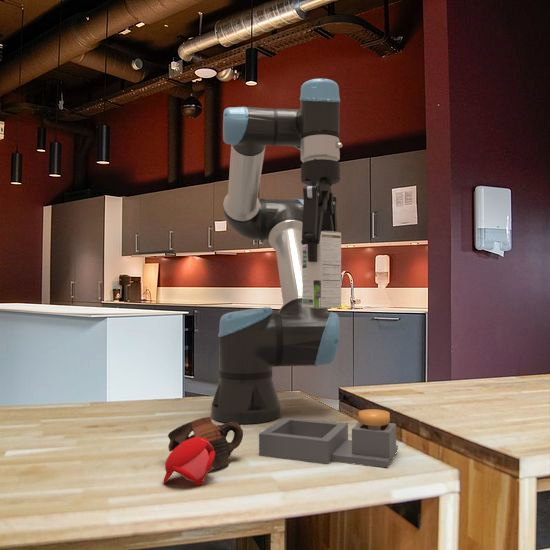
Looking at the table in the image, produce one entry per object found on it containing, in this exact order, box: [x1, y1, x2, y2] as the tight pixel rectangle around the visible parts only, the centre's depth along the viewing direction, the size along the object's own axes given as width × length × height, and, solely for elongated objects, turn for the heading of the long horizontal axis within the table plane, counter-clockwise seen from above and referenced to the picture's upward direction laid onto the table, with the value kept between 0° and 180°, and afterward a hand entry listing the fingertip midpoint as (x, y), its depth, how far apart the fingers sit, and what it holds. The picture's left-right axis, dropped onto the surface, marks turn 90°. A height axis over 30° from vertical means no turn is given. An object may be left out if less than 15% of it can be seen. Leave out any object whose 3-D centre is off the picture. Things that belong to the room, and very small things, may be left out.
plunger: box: [358, 408, 391, 430], centre depth 86 cm, size 5×5×6 cm
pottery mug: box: [167, 416, 244, 473], centre depth 84 cm, size 12×10×8 cm
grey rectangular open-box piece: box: [258, 417, 399, 468], centre depth 89 cm, size 21×12×5 cm, turn 67°
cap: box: [162, 437, 215, 486], centre depth 76 cm, size 8×6×6 cm
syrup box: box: [302, 231, 342, 309], centre depth 101 cm, size 6×6×14 cm
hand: (321, 280), depth 101 cm, fingers closed on syrup box, 8 cm apart
